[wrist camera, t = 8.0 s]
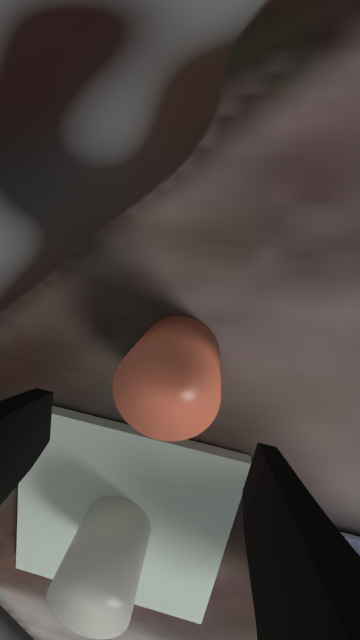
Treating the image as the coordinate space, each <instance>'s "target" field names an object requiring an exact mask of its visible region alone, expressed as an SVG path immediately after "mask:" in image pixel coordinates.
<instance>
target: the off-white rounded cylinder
mask: <svg viewBox="0 0 360 640" xmlns="http://www.w3.org/2000/svg"><path fill="white" fill-rule="evenodd" d="M150 533H151V524H150V521H149V518H148V516H147V515H146V513H145V512H144V511H143V510H142V509H141V508H140V507H139V506H138V505H137V504H135V503H134V502H132V501H130V500H128V499H125V498H121V497H116V496H107V497H102V498H99V499H97V500H96V501H94V502H93V503H92V504H91V505H90V506H89V508H88V510H87V512H86V514H85V516H84V518H83V520H82V522H81V524H80V526H79V528H78V530H77V532H76V534H75V536H74V538H73V540H72V542H71V544H70V546H69V548H68V550H67V552H66V554H65V556H64V558H63V560H62V562H61V564H60V566H59V568H58V570H57V572H56V574H55V576H54V578H53V580H52V582H51V584H50V586H49V588H48V591H47V595H46V601H47V605H48V608H49V610H50V612H51V613H52V615H53V616H54V617H55V619H56V620H57V621H58V622H59V623H60V624H62V625H63V626H64V627H66V628H67V629H69V630H70V631H72V632H74V633H76V634H78V635H81V636H84V637H88V638H92V639H110V638H114V637H117V636H119V635H120V634H122V633H123V632H124V631H125V630H126V629H127V627H128V626H129V623H130V619H131V614H132V610H133V606H134V602H135V597H136V593H137V589H138V584H139V580H140V576H141V572H142V567H143V563H144V559H145V554H146V550H147V546H148V542H149V537H150Z"/></svg>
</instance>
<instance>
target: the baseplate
mask: <svg viewBox="0 0 360 640" xmlns="http://www.w3.org/2000/svg"><path fill="white" fill-rule="evenodd" d="M251 463H252V462H251V456H250V455H247V454H243V453H239V452H235V451H231V450H227V449H223V448H219V447H215V446H211V445H207V444H203V443H199V442H195V441H191V440H187V439H186V440H182V441H172V442H169V441H160V440H156V439H153V438H150V437H147V436H145V435H143V434H141V433H139V432H138V431H136V430H135V429H134V428H132V427H131V426H130V425H128V424H124V423H120V422H116V421H112V420H108V419H104V418H100V417H96V416H92V415H88V414H84V413H80V412H76V411H72V410H68V409H64V408H60V407H56V406H52V416H51V432H50V441H49V443H48V444H47V446H46V447H45V449H44V450H43V452H42V454H41V455H40V457H39V458H38V459H37V461H36V462H35V464H34V465H33V467H32V468H31V469H30V471H29V472H28V473H27V474H26V475H25V477H24V478H23V479H22V480H21V481H20V482H19V484H18V513H17V548H16V568H17V569H20V570H24V571H27V572H30V573H34V574H37V575H40V576H44V577H47V578H50V579H53V578H54V576H55V574H56V572H57V570H58V568H59V566H60V564H61V562H62V560H63V558H64V556H65V554H66V552H67V550H68V548H69V546H70V544H71V542H72V540H73V538H74V536H75V534H76V532H77V530H78V528H79V526H80V524H81V522H82V520H83V518H84V516H85V514H86V512H87V510H88V508H89V506H90V505H91V504H92V503H93V502H94V501H96V500H97V499H99V498H102V497H107V496H116V497H121V498H125V499H128V500H130V501H132V502H134V503H135V504H137V505H138V506H139V507H140V508H141V509H142V510H143V511H144V512H145V513H146V515H147V516H148V518H149V521H150V524H151V533H150V537H149V542H148V546H147V550H146V554H145V559H144V563H143V567H142V572H141V576H140V580H139V584H138V589H137V593H136V597H135V602H134V604H136V605H139V606H142V607H146V608H149V609H152V610H155V611H159V612H162V613H165V614H169V615H172V616H175V617H178V618H182V619H185V620H188V621H192V622H195V623H198V624H201V623H202V620H203V617H204V614H205V610H206V607H207V604H208V601H209V598H210V595H211V591H212V588H213V585H214V582H215V579H216V576H217V573H218V569H219V566H220V563H221V560H222V557H223V554H224V551H225V547H226V544H227V541H228V538H229V535H230V532H231V529H232V525H233V522H234V519H235V516H236V513H237V510H238V507H239V503H240V500H241V497H242V494H243V488H244V485H245V482H246V478H247V475H248V472H249V469H250V466H251Z"/></svg>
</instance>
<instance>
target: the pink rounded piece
mask: <svg viewBox="0 0 360 640" xmlns="http://www.w3.org/2000/svg"><path fill="white" fill-rule="evenodd" d="M112 391H113V398H114V401H115V404H116V407H117V409H118V411H119V413H120V414H121V416H122V417H123V418H124V420H125V421H126V422H127V423H128V424H129V425H130V426H131V427H132V428H134V429H135V430H136V431H138V432H139V433H141V434H143V435H145V436H147V437H150V438H153V439H156V440H160V441H169V442H172V441H182V440H186V439H190V438H192V437H195V436H197V435H198V434H200V433H202V432H203V431H204V430H205V429H207V428H208V427H209V426H210V425H211V423H212V422H213V420H214V419H215V417H216V415H217V413H218V410H219V407H220V402H221V378H220V350H219V345H218V342H217V339H216V337H215V335H214V334H213V332H212V331H211V330H210V329H209V328H208V327H207V326H206V325H205V324H204V323H202V322H201V321H199V320H197V319H195V318H192V317H189V316H183V315H174V316H168V317H165V318H162V319H160V320H159V321H157V322H156V323H154V324H153V325H152V326H151V327H150V328H149V329H148V330H147V331H146V333H145V334H144V335H143V336H142V337H141V338H140V340H139V341H138V342H137V343H136V344H135V345H134V346H133V348H132V349H131V350H130V351H129V352H128V353H127V355H126V356H125V357H124V358H123V359H122V361H121V362H120V363H119V365H118V367H117V369H116V371H115V374H114V377H113V384H112Z"/></svg>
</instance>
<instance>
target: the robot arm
mask: <svg viewBox="0 0 360 640" xmlns="http://www.w3.org/2000/svg"><path fill="white" fill-rule="evenodd" d="M52 400H53V392H50V391H46V390H42V389H38V388H36V389H33V390H29V391H27V392H24V393H21V394H18V395H15V396H13V397H10V398H7V399H5V400H2V401H0V505H1V504H2V502H3V501H4V500H5V499H6V498H7V497H8V495H9V494H10V493H11V492H12V491H13V490H14V488H15V487H16V486H17V485H18V484H19V482H20V481H21V480H22V479H23V478H24V477H25V475H26V474H27V473H28V472H29V471H30V469H31V468H32V467H33V465H34V464H35V462H36V461H37V459H38V458H39V457H40V455H41V454H42V452H43V450H44V449H45V447H46V446H47V444H48V443H49V441H50V432H51V416H52ZM243 526H244V535H245V543H246V550H247V558H248V566H249V573H250V581H251V588H252V596H253V603H254V611H255V618H256V627H257V637H258V640H360V537H358V536H355V535H351V534H347V533H343V532H340V531H339V530H338V529H337V528H336V526H335V525H334V524H333V523H332V521H331V520H330V519H329V518H328V516H327V515H326V514H325V513H324V511H323V510H322V509H321V507H320V506H319V505H318V503H317V502H316V501H315V499H314V498H313V497H312V495H311V494H310V493H309V491H308V490H307V489H306V487H305V486H304V485H303V483H302V482H301V480H300V479H299V478H298V476H297V475H296V473H295V472H294V471H293V469H292V468H291V466H290V465H289V464H288V462H287V461H286V459H285V458H284V457H283V455H282V454H281V453H280V451H279V450H278V449H277V447H274V446H270V445H266V444H262V443H258V444H257V447H256V450H255V453H254V456H253V459H252V463H251V466H250V469H249V472H248V475H247V478H246V482H245V485H244V488H243Z"/></svg>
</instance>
